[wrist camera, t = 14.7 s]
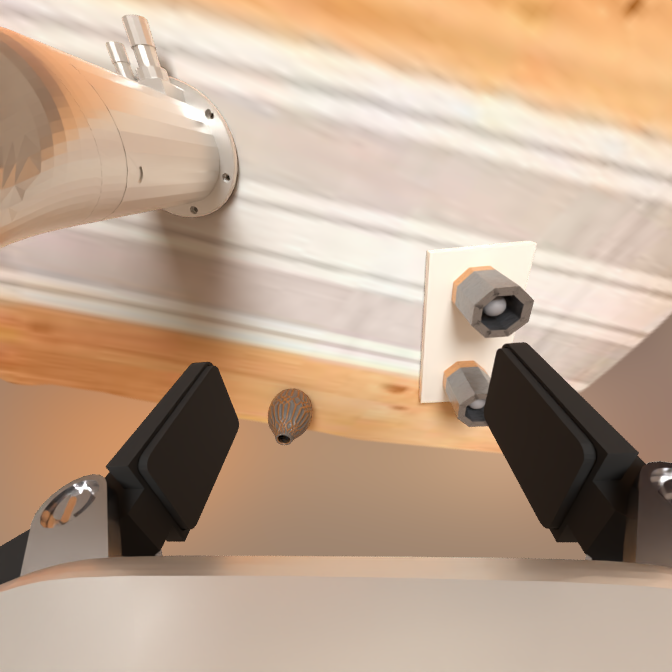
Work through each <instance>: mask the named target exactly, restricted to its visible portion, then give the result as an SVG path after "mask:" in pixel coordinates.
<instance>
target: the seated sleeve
mask: <svg viewBox="0 0 672 672" xmlns="http://www.w3.org/2000/svg"><path fill="white" fill-rule="evenodd" d="M490 379H491V378H490V377H489V375H488V374H487V372H486V371H485V369H484V368H482V367H481V366H480V365H479V364H478V363H477V362H475V361H474V360H472V361H457V362H455V363H454V364H453V365H452V366H450V367H449V368H448V369H446V370H445V371H444V375H443V386H444V388H445V391H446V393H447V395H448V398H449V400H450V402H451V405H452V407H453V409H454V412H455V414H456V416H457V418H458V419H459V420H460V421H462V422H463V423H465V424H466V425H467V426H469V427H476V426H488V424H487V423H486V420H485V417H484V407H485V405H484V406H483V407H482V408H480V409H473V408H471V407H470V406H469V405H470V404H471V403H473V402H474V401H476V400H477V399H486V397H487V393H488V388H489V383H490Z"/></svg>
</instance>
